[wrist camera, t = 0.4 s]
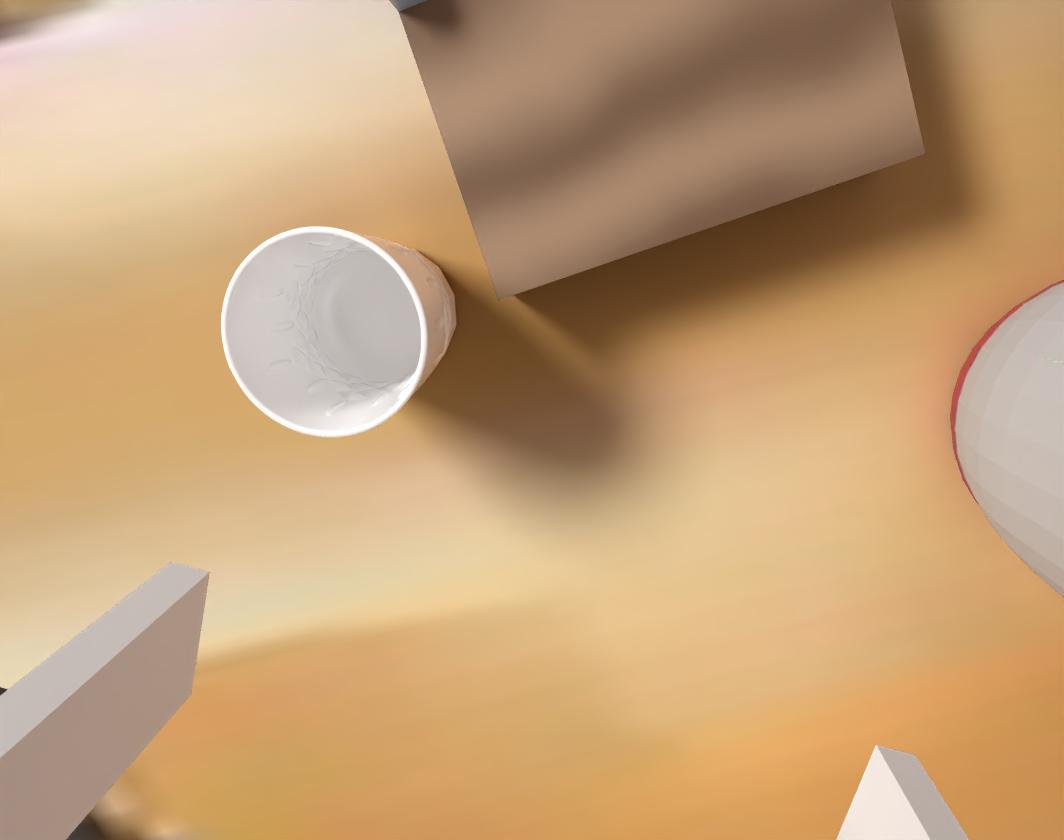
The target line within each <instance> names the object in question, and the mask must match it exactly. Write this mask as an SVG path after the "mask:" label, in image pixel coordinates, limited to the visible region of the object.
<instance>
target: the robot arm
mask: <svg viewBox="0 0 1064 840" xmlns="http://www.w3.org/2000/svg"><path fill="white" fill-rule="evenodd" d="M209 573H210V572H208V571H204V570H200V569H196V568H192V567H188V566H185V565H181V564H177V563H173V562H170V563H169V564H168V565H167V566H165V567H164V568H163V569H161V570H160V571H159V572H158V573H156V574H155V575H154V576H153V577H151V578H150V579H149V580H147V581H146V582H145V583H144V584H142V585H141V586H140V587H138V588H137V589H136V590H135V591H133V592H132V593H131V594H130V595H128V596H127V597H126V598H124V599H123V600H122V601H121V602H119V603H118V604H117V605H115V606H114V607H113V608H112V609H110V610H109V611H108V612H107V613H105V614H104V615H103V616H101V617H100V618H99V619H98V620H96V621H95V622H94V623H92V624H91V625H90V626H89V627H87V628H86V629H85V630H83V631H82V632H81V633H80V634H78V635H77V636H76V637H75V638H73V639H72V640H71V641H69V642H68V643H67V644H66V645H64V646H63V647H62V648H60V649H59V650H58V651H57V652H55V653H54V654H53V655H52V656H50V657H49V658H48V659H46V660H45V661H44V662H43V663H41V664H40V665H39V666H37V667H36V668H35V669H34V670H32V671H31V672H30V673H29V674H27V675H26V676H25V677H23V678H22V679H21V680H20V681H18V682H17V683H16V684H14V685H13V686H12V687H11V688H9V689H4V688H1V687H0V840H66V839H67V838H68V836H69V835H70V834H71V833H72V832H73V831H74V829H75V828H76V827H77V826H78V825H79V824H80V822H81V821H82V820H83V819H84V818H85V817H86V816H87V814H88V813H89V812H90V811H91V810H92V809H93V807H94V806H95V805H96V804H97V803H98V802H99V801H100V799H101V798H102V797H103V796H104V795H105V794H106V792H107V791H108V790H109V789H110V788H111V787H112V785H113V784H114V783H115V782H116V781H117V780H118V779H119V777H120V776H121V775H122V774H123V773H124V772H125V770H126V769H127V768H128V767H129V766H130V765H131V763H132V762H133V761H134V760H135V759H136V758H137V757H138V755H139V754H140V753H141V752H142V751H143V750H144V748H145V747H146V746H147V745H148V744H149V743H150V741H151V740H152V739H153V738H154V737H155V736H156V735H157V733H158V732H159V731H160V730H161V729H162V728H163V726H164V725H165V724H166V723H167V722H168V721H169V720H170V718H171V717H172V716H173V715H174V714H175V713H176V711H177V710H178V709H179V708H180V707H181V706H182V704H183V703H184V702H185V701H186V700H187V699H188V698H189V696H190V695H191V692H192V685H193V679H194V672H195V666H196V659H197V652H198V646H199V639H200V632H201V626H202V619H203V613H204V606H205V599H206V593H207V586H208V579H209ZM837 840H969V839H968V837H967V835H966V834H965V832H964V831H963V829H962V828H961V826H960V824H959V823H958V821H957V820H956V818H955V817H954V815H953V813H952V812H951V810H950V809H949V807H948V806H947V804H946V802H945V801H944V799H943V798H942V796H941V795H940V793H939V791H938V790H937V788H936V787H935V785H934V784H933V782H932V780H931V779H930V777H929V776H928V774H927V773H926V771H925V769H924V768H923V766H922V765H921V763H920V762H919V760H918V758H917V757H916V755H913V754H909V753H905V752H902V751H898V750H894V749H890V748H886V747H882V746H878V745H876V746H875V749H874V751H873V754H872V756H871V758H870V761H869V763H868V766H867V768H866V770H865V773H864V775H863V777H862V780H861V782H860V785H859V787H858V789H857V792H856V794H855V797H854V799H853V801H852V804H851V806H850V809H849V811H848V813H847V816H846V818H845V820H844V823H843V825H842V828H841V830H840V832H839V835H838V837H837Z"/></svg>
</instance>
